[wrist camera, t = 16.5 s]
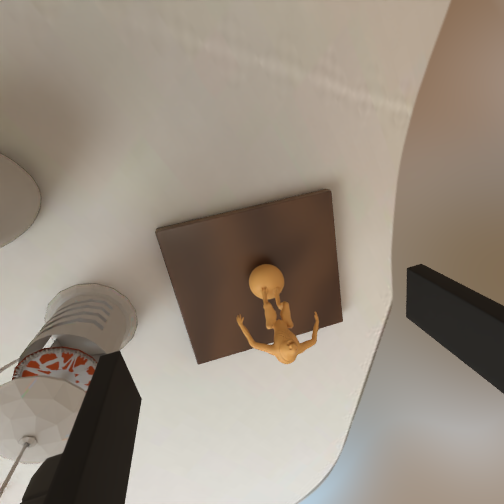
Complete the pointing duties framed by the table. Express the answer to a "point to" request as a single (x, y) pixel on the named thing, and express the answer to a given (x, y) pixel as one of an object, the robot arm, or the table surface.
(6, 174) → the lumpy-topped squat cylinder
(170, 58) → the table surface
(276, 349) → the figurine
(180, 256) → the walnut board
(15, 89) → the table surface
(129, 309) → the french press
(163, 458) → the table surface
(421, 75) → the table surface
